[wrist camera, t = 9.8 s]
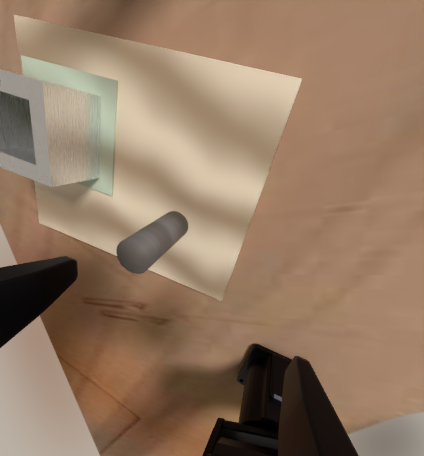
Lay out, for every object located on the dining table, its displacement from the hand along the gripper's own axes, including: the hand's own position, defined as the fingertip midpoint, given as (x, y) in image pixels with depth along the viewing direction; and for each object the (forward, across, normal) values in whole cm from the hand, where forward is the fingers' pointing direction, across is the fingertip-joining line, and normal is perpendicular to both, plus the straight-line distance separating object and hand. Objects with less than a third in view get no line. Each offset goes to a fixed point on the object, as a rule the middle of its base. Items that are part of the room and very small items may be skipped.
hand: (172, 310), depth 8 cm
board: (+12, +10, -1) cm, 15 cm away
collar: (+10, +16, -4) cm, 19 cm away
